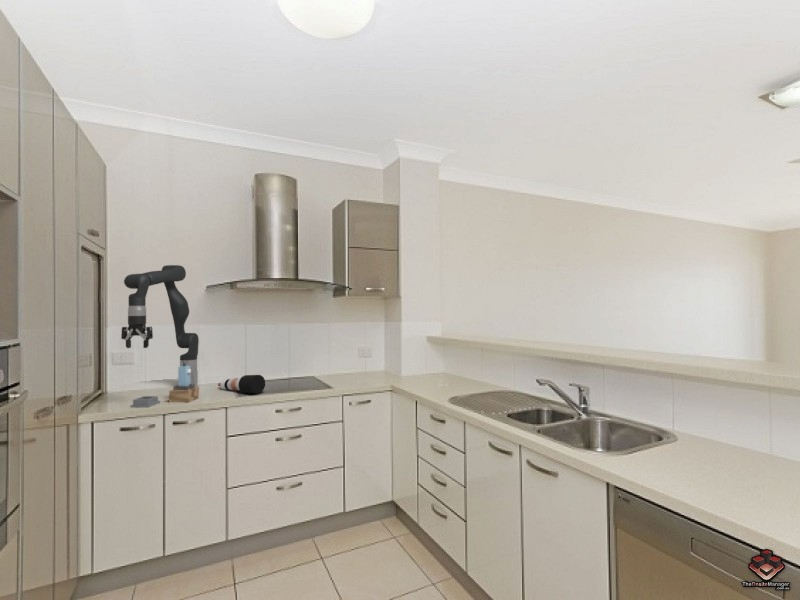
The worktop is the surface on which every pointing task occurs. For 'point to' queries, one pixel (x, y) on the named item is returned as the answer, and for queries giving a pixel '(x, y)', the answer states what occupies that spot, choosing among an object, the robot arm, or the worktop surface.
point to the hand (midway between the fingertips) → (137, 347)
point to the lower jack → (145, 401)
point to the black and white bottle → (244, 384)
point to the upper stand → (184, 393)
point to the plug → (184, 374)
